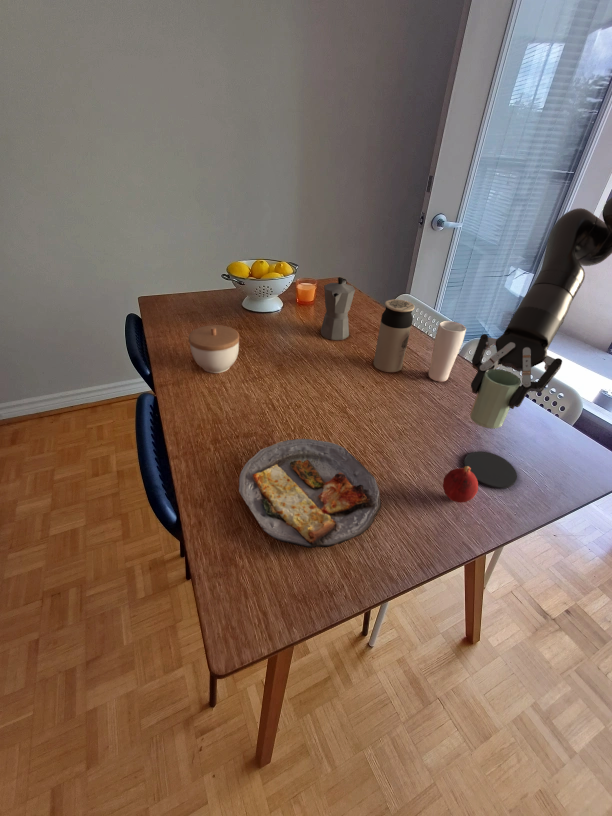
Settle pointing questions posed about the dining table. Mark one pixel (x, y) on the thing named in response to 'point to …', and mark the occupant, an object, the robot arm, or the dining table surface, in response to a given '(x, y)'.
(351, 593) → the dining table surface
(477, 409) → the cup
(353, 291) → the coffeepot
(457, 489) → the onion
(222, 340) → the lidded bowl
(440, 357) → the drinking glass
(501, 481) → the coaster
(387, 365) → the travel mug
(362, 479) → the food plate
